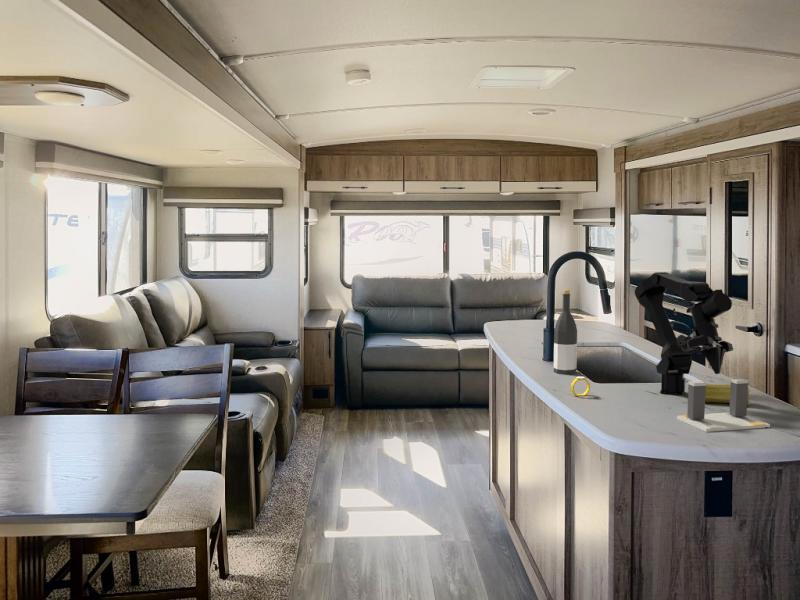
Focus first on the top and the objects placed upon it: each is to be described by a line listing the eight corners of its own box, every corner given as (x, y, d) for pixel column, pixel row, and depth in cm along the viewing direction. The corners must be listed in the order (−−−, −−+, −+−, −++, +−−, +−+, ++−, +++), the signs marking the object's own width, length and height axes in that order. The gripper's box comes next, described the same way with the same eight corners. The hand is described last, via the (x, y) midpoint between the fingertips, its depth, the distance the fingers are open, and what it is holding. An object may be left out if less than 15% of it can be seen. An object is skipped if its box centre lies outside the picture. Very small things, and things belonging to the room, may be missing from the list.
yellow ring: (574, 398, 228) (573, 379, 227) (570, 396, 231) (569, 377, 230) (591, 395, 229) (590, 377, 229) (587, 393, 232) (586, 375, 231)
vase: (746, 381, 220) (695, 380, 224) (749, 387, 214) (697, 386, 218) (745, 400, 221) (694, 399, 225) (749, 407, 215) (697, 405, 219)
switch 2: (729, 414, 203) (730, 378, 202) (740, 413, 203) (742, 378, 202) (735, 416, 200) (736, 380, 199) (746, 415, 201) (748, 380, 200)
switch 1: (687, 417, 200) (688, 381, 199) (698, 416, 201) (700, 380, 200) (692, 419, 198) (694, 383, 197) (704, 418, 198) (705, 382, 197)
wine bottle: (554, 374, 262) (555, 290, 259) (553, 369, 270) (554, 288, 266) (577, 374, 260) (578, 291, 257) (575, 370, 268) (577, 288, 265)
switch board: (677, 418, 203) (677, 415, 203) (737, 414, 206) (738, 411, 206) (705, 431, 190) (706, 428, 190) (769, 427, 194) (770, 423, 194)
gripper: (691, 334, 228) (704, 382, 223) (664, 326, 215) (677, 377, 210) (727, 323, 221) (740, 374, 216) (701, 315, 208) (714, 368, 203)
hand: (717, 373), depth 211 cm, fingers closed
